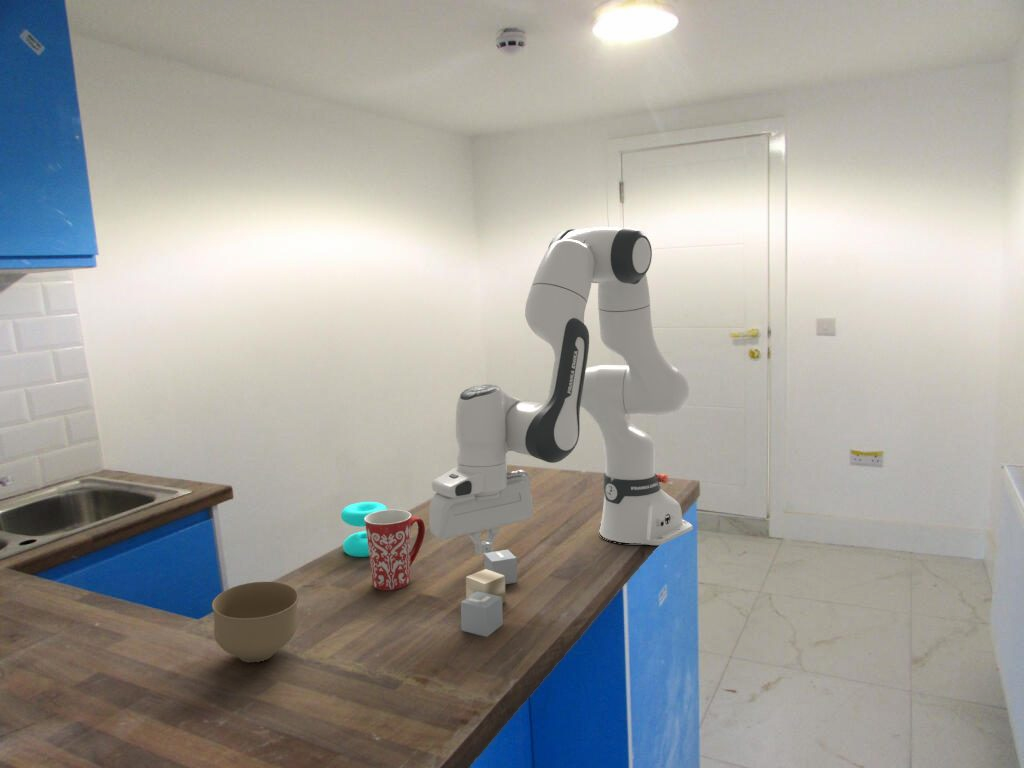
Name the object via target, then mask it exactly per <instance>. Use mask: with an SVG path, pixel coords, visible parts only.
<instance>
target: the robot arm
mask: <svg viewBox="0 0 1024 768" xmlns="http://www.w3.org/2000/svg"><path fill="white" fill-rule="evenodd" d="M652 251H653V250H652V245H651V242H650V240H649V238H648V236H647V235H646V233H644V231H642V230H640V229H636V228H632V227H623V228H622V227H613V226H596V227H591V228H590V227H589V228H582V229H581V228H580V229H573V228H571V229H566V230H563V231H562V230H561V231H560V232H558V233H557V234H555V235H554V237H553V238H552V240H551V241H550V243H549V245H548V248H547V250H546V252H545V253H544V256H543V258H542V259H541V261H540V264H539V266H538V268H537V270H536V273H535V276H534V277H533V281H532V283H531V287H530V290H529V292H528V296H527V299H526V302H525V303H526V304H525V309H524V310H525V311H524V316H525V319H526V323H527V324H528V327H529V328H530V329H531V331H532V332H533V333H534V334H535V335H536V336H537V337H539V338H540V339H542V340H543V341H545V342H546V343H547V344H548V345H550V346H551V347H552V350H553V353H554V363H553V369H552V373H551V374H552V375H551V381H550V385H549V390H548V391H549V392H548V396H547V398H546V400H544V401H543V402H536V401H530V400H526V399H525V400H524V399H521V398H518V397H515V396H512V395H510V394H508V393H507V392H505V391H503V390H502V388H501V387H500V386H498V385H496V384H481V385H474V386H472V387H469V388H466V389H465V390H464V391H463V390H462V392H461V393H460V394H459V397H458V400H457V404H456V412H455V438H456V442H457V444H458V455H457V458H456V466H455V467H454V468H452V469H450V470H449V471H447V472H445V473H443V474H442V475H440V476H438V477H436V478H434V479H433V480H432V482H431V488H432V491H433V492H435V494H433V496H432V497H431V499H430V504H429V513H428V514H429V515H428V516H429V518H428V521H429V523H428V525H429V527H428V528H429V531H430V533H431V534H432V536H434V537H435V538H437V539H439V540H442V541H446V540H449V539H453V538H458V537H461V536H465V535H468V536H469V538H470V539H471V541H472V543H473V544H474V553H475V555H479V556H481V555H484V553H489V552H494V543H495V541H496V539H497V536H498V534H499V533H500V532H499V531H500V530H499V528H501V527H503V526H506V525H507V526H508V525H510V524H512V525H513V524H516V523H519V522H520V523H521V522H525V521H528V520H531V518H532V516H533V515H534V504H533V503H534V502H533V497H532V491H531V477H530V475H529V474H528V472H526V471H524V470H523V469H520V470H519V469H518V470H515V471H508V466H507V465H508V463H507V462H508V461H507V453H508V452H514V453H517V454H521V455H526V456H531V457H532V458H536V459H539V460H541V461H543V462H547V463H551V464H554V463H559V462H561V461H562V460H564V459H566V458H567V457H568V456H569V455H570V454H571V453H572V452H573V451H574V449H575V448H576V446H577V444H578V441H579V437H580V430H581V429H580V424H581V423H580V411H581V409H582V410H583V411H585V412H586V413H587V414H588V415H589V416H590V417H591V419H592V420H593V421H594V422H595V424H596V426H597V427H598V429H599V432H600V433H601V437H602V441H603V448H604V461H605V463H604V464H605V467H604V468H605V472H604V473H603V481H602V482H603V491H604V497H603V506H602V507H603V508H602V515H601V520H600V523H601V526H600V525H599V530H598V533H599V532H600V534H601V535H602V536H603V537H605V538H608V539H611V540H615V541H618V542H625V543H641V544H640V545H650V546H661V545H664V544H667V543H668V542H670V541H672V540H674V539H676V538H678V537H680V536H682V535H684V534H686V533H688V532H690V531H692V530H693V529H694V528H693V525H692V524H691V523H690V522H689V521H687V520H685V519H683V512H682V508H681V504H680V502H678V501H677V500H676V499H675V498H673V497H672V496H671V495H669V494H668V493H666V492H665V491H664V490H662V489H661V485H660V483H662V484H667V483H668V482H669V476H668V474H663V473H659V474H656V471H655V470H656V469H655V466H656V461H655V459H656V458H655V457H656V455H655V453H656V446H655V442H654V440H653V439H652V437H651V436H650V435H649V434H648V433H647V432H645V431H644V430H642V429H640V428H638V427H637V426H636V425H635V424H634V423H633V422H632V421H631V418H630V415H640V416H641V415H643V416H663V415H670V414H675V413H679V412H680V411H681V410H682V409H683V408H684V406H685V405H686V404H687V401H688V398H689V393H690V390H689V389H690V387H689V384H688V380H687V378H686V376H685V375H684V373H683V372H682V371H681V370H680V369H678V368H677V367H675V366H674V365H672V364H671V362H669V361H668V359H667V358H666V357H665V356H664V355H663V352H661V351H660V348H659V347H658V345H657V343H656V340H655V337H654V331H653V323H652V313H651V300H650V298H651V297H650V289H649V284H648V278H647V277H648V276H647V273H648V271H649V268H650V266H651V264H652V259H653V258H652V257H653V252H652ZM592 284H597V306H598V308H597V309H598V319H599V320H598V321H599V322H598V323H599V334H600V339H601V341H602V343H603V344H604V346H605V347H606V348H607V349H608V350H609V351H612V352H614V353H615V354H617V355H619V356H620V357H621V358H622V359H623V360H624V361H625V362H626V364H599V365H598V364H597V365H592V366H588V367H587V364H588V358H589V351H590V350H589V349H590V333H589V329H588V327H587V325H586V324H585V312H586V307H587V303H588V301H589V296H590V294H591V293H590V291H591V288H592ZM483 531H486V532H487V533H486V536H485V539H484V540H483V541H482V540H481V539H480V537H482V532H483Z"/></svg>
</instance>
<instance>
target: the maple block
mask: <svg viewBox="0 0 1024 768" xmlns="http://www.w3.org/2000/svg"><path fill="white" fill-rule="evenodd" d="M477 591H478V592H483V593H487V594H492V595H496V596H501V597H502V604H504V603H506V584H505V576H504V575H501V574H499V573H496V572H493V571H490V570H488V569H481V570H480V571H477V572H475V573H472V574H469V575H467V576H465V592H466V595H465V596H466V598H468V597H469V596H471V595H472V594H474V593H475V592H477ZM466 598H465V599H466Z"/></svg>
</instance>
